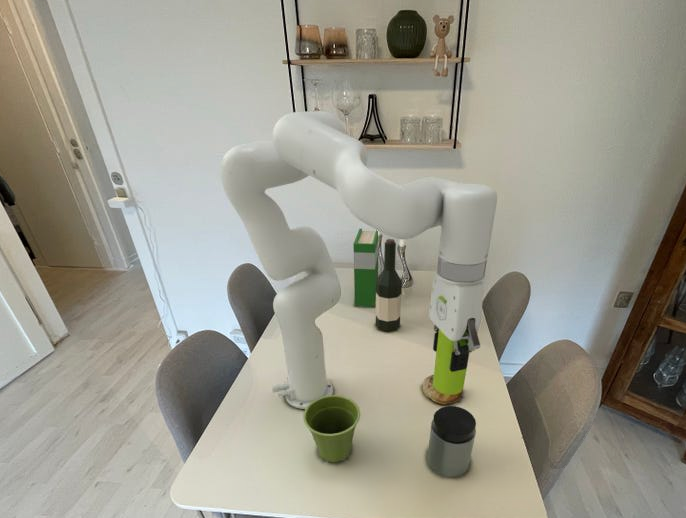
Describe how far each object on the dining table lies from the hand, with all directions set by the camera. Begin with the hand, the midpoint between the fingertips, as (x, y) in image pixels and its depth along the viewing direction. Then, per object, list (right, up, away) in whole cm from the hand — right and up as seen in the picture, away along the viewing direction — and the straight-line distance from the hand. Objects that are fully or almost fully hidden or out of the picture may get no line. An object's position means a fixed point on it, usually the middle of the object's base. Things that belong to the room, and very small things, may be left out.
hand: (449, 358), depth 71 cm
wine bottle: (-8, +9, +61) cm, 62 cm away
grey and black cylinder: (+2, -23, +12) cm, 26 cm away
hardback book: (-16, +21, +80) cm, 84 cm away
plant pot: (-23, -21, +15) cm, 34 cm away
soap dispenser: (0, -6, +4) cm, 7 cm away
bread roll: (+5, -10, +32) cm, 34 cm away
